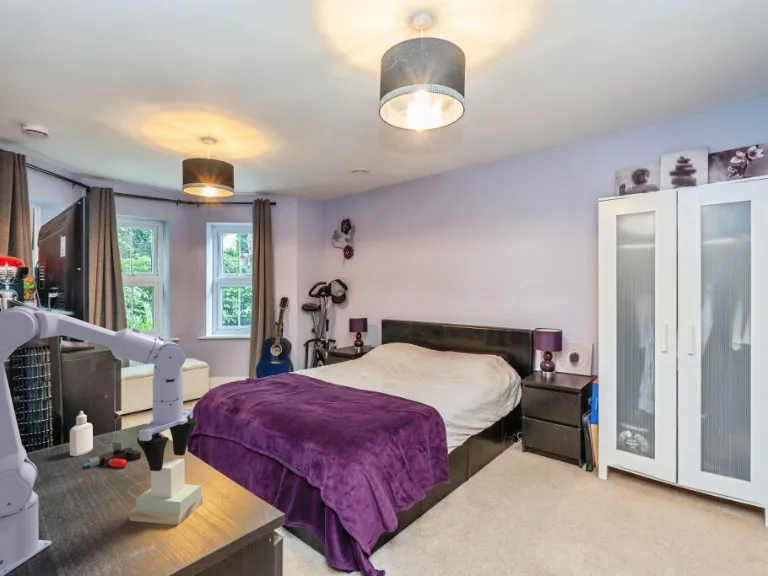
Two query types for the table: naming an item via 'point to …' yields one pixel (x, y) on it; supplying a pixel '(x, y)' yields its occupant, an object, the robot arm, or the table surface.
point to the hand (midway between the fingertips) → (168, 462)
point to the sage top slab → (169, 501)
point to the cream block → (168, 478)
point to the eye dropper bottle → (81, 436)
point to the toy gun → (115, 457)
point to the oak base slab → (164, 515)
